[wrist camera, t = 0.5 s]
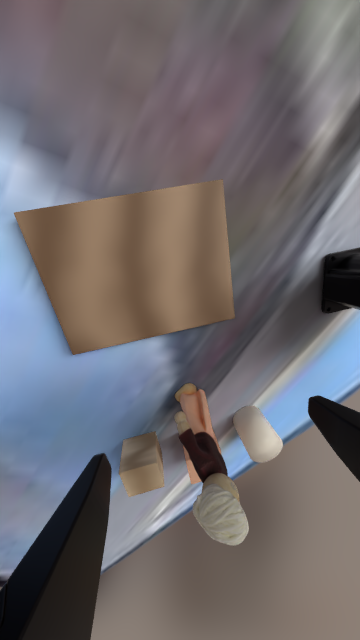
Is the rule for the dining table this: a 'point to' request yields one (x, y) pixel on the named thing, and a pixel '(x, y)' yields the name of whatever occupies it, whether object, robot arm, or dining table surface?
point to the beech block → (141, 464)
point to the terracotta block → (191, 469)
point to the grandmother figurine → (209, 470)
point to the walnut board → (134, 263)
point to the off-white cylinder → (257, 434)
